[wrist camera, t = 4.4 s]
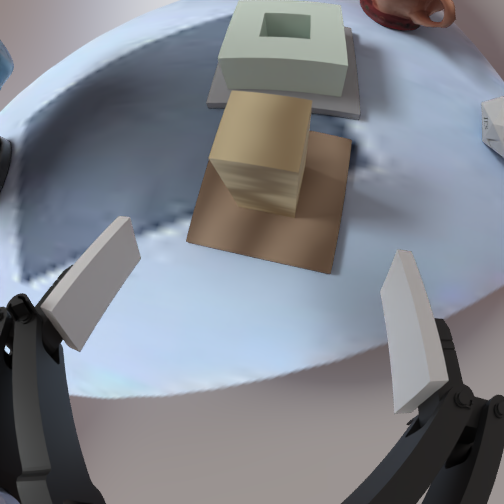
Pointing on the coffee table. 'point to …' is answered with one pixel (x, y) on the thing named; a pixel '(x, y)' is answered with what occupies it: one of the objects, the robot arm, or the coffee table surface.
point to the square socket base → (289, 56)
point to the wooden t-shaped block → (272, 184)
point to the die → (493, 124)
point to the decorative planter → (408, 13)
